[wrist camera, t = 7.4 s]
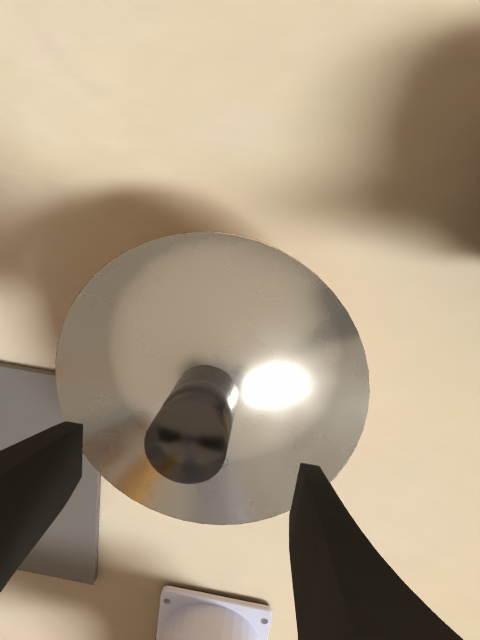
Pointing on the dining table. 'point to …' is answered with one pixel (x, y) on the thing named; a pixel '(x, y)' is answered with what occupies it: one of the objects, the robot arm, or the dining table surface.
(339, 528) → the robot arm
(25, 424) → the rubber mat
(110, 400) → the steel lid
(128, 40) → the dining table surface
